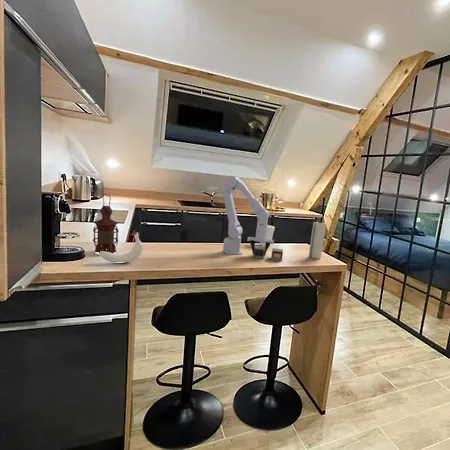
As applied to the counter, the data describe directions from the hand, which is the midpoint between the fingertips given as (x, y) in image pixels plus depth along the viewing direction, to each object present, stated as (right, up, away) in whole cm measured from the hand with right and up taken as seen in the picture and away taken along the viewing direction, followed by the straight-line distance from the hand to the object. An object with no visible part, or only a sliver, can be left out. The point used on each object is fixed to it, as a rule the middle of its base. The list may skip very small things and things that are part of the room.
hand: (258, 254), depth 172 cm
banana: (-67, -1, -31) cm, 74 cm away
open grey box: (+10, -3, -1) cm, 10 cm away
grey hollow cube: (0, -1, 0) cm, 1 cm away
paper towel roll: (+35, -3, +11) cm, 36 cm away
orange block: (+10, -3, -1) cm, 10 cm away
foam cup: (+8, +3, +30) cm, 31 cm away
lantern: (-80, +2, -17) cm, 82 cm away
